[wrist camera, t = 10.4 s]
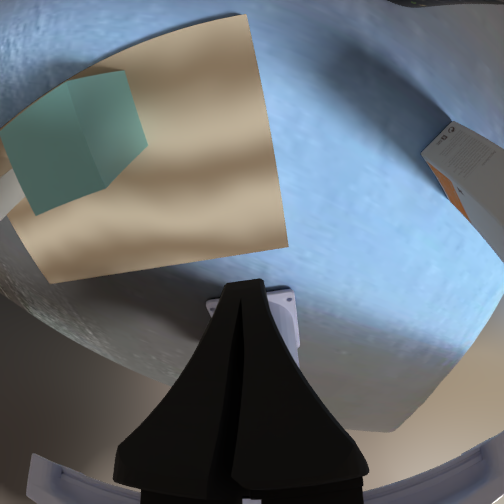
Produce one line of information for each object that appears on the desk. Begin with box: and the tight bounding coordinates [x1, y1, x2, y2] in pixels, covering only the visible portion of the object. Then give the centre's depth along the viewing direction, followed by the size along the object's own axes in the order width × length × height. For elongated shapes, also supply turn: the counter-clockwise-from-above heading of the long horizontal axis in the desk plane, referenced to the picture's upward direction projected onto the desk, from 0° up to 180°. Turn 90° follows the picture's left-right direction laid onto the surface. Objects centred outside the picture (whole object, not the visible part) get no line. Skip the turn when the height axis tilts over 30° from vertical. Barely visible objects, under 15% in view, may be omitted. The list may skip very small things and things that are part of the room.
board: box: [0, 14, 288, 284], centre depth 17 cm, size 16×24×1 cm, turn 101°
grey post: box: [0, 168, 25, 221], centre depth 14 cm, size 3×3×5 cm
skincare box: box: [421, 121, 504, 263], centre depth 12 cm, size 6×4×12 cm
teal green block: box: [0, 70, 148, 216], centre depth 12 cm, size 5×5×6 cm
